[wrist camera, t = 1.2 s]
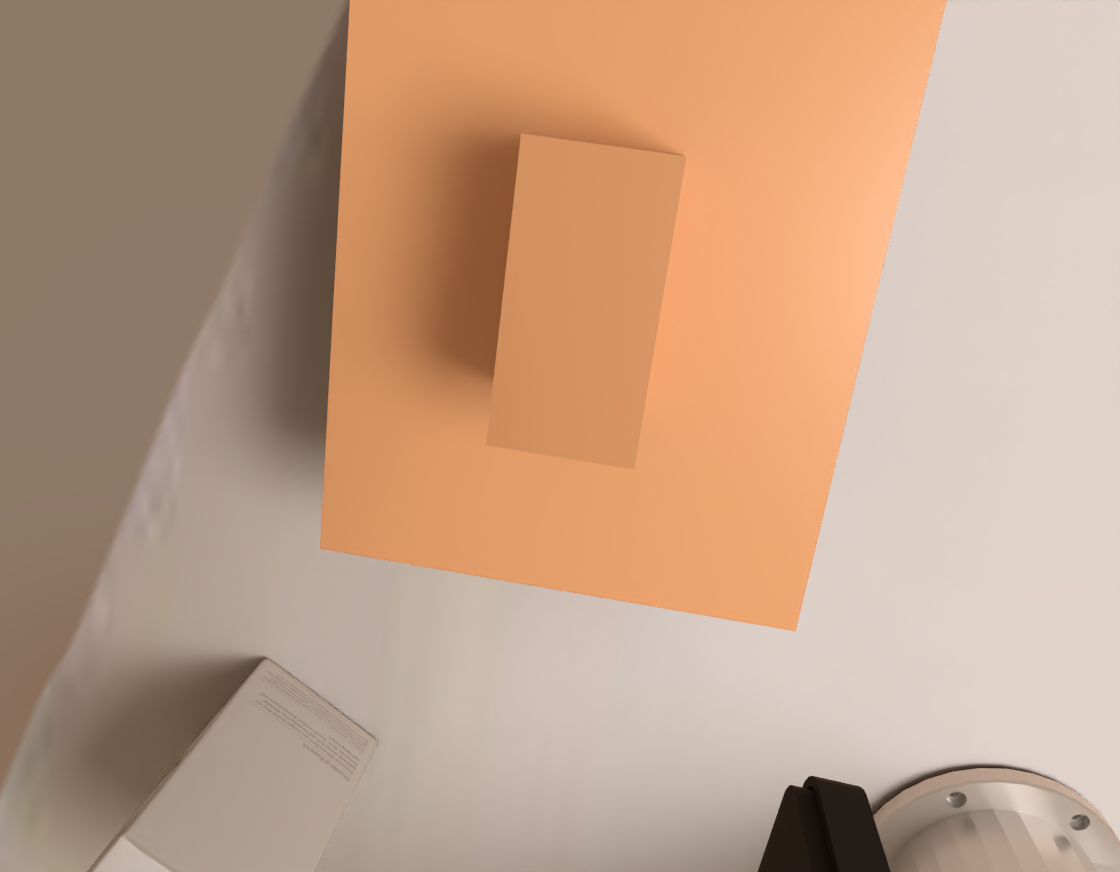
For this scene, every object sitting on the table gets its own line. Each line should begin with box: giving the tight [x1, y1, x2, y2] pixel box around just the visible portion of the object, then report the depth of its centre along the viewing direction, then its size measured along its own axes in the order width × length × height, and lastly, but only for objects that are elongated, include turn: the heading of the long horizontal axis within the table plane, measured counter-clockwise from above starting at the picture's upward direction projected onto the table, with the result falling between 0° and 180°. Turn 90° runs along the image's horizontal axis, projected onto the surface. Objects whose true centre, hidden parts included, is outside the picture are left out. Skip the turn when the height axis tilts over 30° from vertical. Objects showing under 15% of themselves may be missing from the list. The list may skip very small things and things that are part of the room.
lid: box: [320, 0, 947, 631], centre depth 27 cm, size 17×22×9 cm
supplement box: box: [87, 659, 378, 872], centre depth 41 cm, size 7×7×13 cm
